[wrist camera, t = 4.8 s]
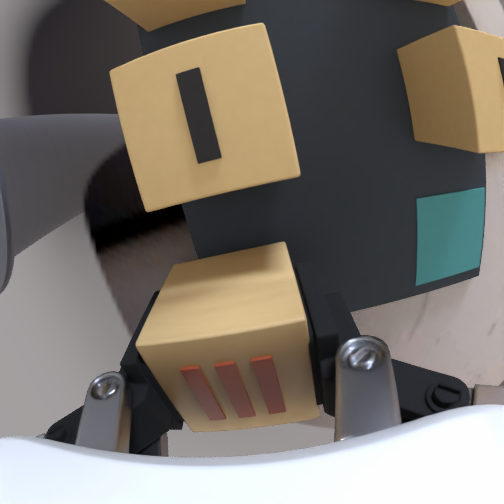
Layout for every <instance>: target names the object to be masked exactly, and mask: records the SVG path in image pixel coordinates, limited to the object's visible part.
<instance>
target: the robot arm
mask: <svg viewBox="0 0 504 504" xmlns="http://www.w3.org/2000/svg"><path fill="white" fill-rule="evenodd" d="M295 267H296V268H293V270H294V274H295V277H296V281H297V285H298V288H299V292H300V296H301V299H302V303H303V307H304V311H305V314H306V318H307V324H308V331H309V338H310V340H309V344H308V345H309V351H310V358H311V365H312V372H313V379H314V387H315V395H316V402H317V405H321V404H323V406H324V411H325V413H327V414H329V415H331V416H333V417H335V433H334V442H333V443H329V444H323V445H318V446H314V447H308V448H302V449H296V450H289V451H282V452H275V453H266V454H256V455H245V456H230V457H193V458H192V457H168V437H167V433H166V432H168V431H169V429H170V430H172V429H173V430H175V429H176V430H177V429H178V430H181V429H182V426H183V421H185V420H184V419H183V418H182V416H181V415H180V414H179V412H178V411H177V409H176V408H175V406H174V405H173V404H172V402H171V401H170V399H169V398H168V396H167V395H166V393H165V392H164V390H163V389H162V387H161V386H160V384H159V383H158V381H157V380H156V378H155V376H154V375H153V373H152V372H151V370H150V369H149V367H148V366H147V365H146V363H145V361H144V360H143V358H142V356H141V355H140V353H139V351H138V350H137V348H136V341H137V339H138V337H139V335H140V333H141V330H142V328H143V326H144V324H145V322H146V320H147V318H148V315H149V313H150V311H151V309H152V307H153V305H154V303H155V301H156V299H157V297H158V295H159V293H160V291H156V292H155V293H154V295H153V297H152V299H151V301H150V302H149V304H148V306H147V308H146V310H145V312H144V314H143V316H142V318H141V320H140V323H139V325H138V327H137V329H136V331H135V333H134V335H133V337H132V339H131V341H130V343H129V345H128V348H127V350H126V352H125V354H124V356H123V358H122V361H121V363H120V365H121V369H120V371H119V372H115V371H111V372H106V373H103V374H102V375H100V376H98V377H97V378H96V379H94V380H93V381H92V383H91V384H90V386H89V388H88V391H87V395H86V398H85V403H84V405H83V406H81V407H80V408H78V409H76V410H75V411H73V412H72V413H70V414H69V415H67V416H65V417H64V418H62V419H61V420H59V421H58V422H56V423H54V424H53V425H52V426H51V427H50V428H49V429H48V431H47V433H46V434H45V433H44V434H42V435H39V436H37V437H30V436H9V437H4V438H0V504H504V386H491V385H477V384H475V386H474V388H467V386H466V384H465V383H464V382H462V381H461V380H460V379H458V378H455V377H453V376H449V375H445V374H442V373H438V372H435V371H431V370H428V369H424V368H421V367H418V366H414V365H411V364H408V363H404V362H401V361H398V360H395V359H391V356H390V351H389V348H388V346H387V344H386V343H385V342H384V341H383V340H381V339H379V338H377V337H374V336H369V335H360V333H359V331H358V328H357V326H356V324H355V322H354V320H353V318H352V315H351V313H350V311H349V309H348V307H347V305H346V303H345V301H344V299H343V297H342V295H341V293H340V291H336V292H332V293H327V294H323V291H322V289H321V286H320V284H319V281H318V279H317V276H316V274H315V271H314V269H313V266H312V264H311V262H310V261H307V262H302V263H297V264H295Z"/></svg>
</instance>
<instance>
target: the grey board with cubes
mask: <svg viewBox="0 0 504 504" xmlns="http://www.w3.org/2000/svg"><path fill="white" fill-rule="evenodd" d="M104 1H106V2H107V3H109V4H110V5H112V6H113V7H115V8H116V9H118V10H119V11H120V12H122V13H123V14H125V15H126V16H127V17H129V18H130V19H132V20H133V21H134V22H136V23H137V25H138V30H139V35H140V40H141V45H142V50H143V55H144V56H143V57H140V58H138V59H135V60H133V61H131V62H128V63H126V64H124V65H122V66H119V67H117V68H115V69H113V70H111V71H110V77H111V82H112V87H113V92H114V96H115V101H116V106H117V110H118V114H119V118H120V123H121V127H122V131H123V135H124V139H125V142H126V146H127V150H128V154H129V157H130V161H131V164H132V168H133V171H134V175H135V178H136V182H137V185H138V188H139V191H140V195H141V198H142V201H143V204H144V207H145V210H146V212H151V211H155V210H159V209H162V208H166V207H170V206H173V205H177V204H182V207H183V211H184V214H185V217H186V220H187V224H188V227H189V230H190V233H191V237H192V240H193V243H194V246H195V249H196V252H197V255H198V258H199V259H203V258H208V257H213V256H217V255H222V254H227V253H232V252H236V251H241V250H246V249H250V248H255V247H260V246H265V245H269V244H274V243H279V242H285V243H286V246H287V249H288V253H289V256H290V260H291V263H292V267H293V268H296V267H295V264H297V263H302V262H307V261H310V262H311V264H312V266H313V269H314V271H315V274H316V276H317V279H318V281H319V284H320V286H321V289H322V291H323V294H327V293H332V292H336V291H340V293H341V295H342V297H343V299H344V301H345V303H346V305H347V307H348V309H349V311H350V312H352V311H357V310H361V309H365V308H369V307H373V306H377V305H381V304H385V303H389V302H393V301H397V300H401V299H404V298H408V297H411V296H415V295H419V294H422V293H426V292H429V291H432V290H436V289H439V288H442V287H445V286H449V285H452V284H455V283H458V282H461V281H464V280H467V279H470V278H473V277H476V276H479V271H480V264H481V256H482V248H483V238H484V226H485V207H486V167H485V153H497V152H504V38H501V37H498V36H495V35H492V34H488V33H485V32H481V31H478V30H474V29H470V28H466V27H461V26H460V24H459V21H458V18H457V16H456V13H455V10H454V8H453V4H455V3H457V2H459V1H461V0H104Z"/></svg>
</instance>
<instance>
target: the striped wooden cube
mask: <svg viewBox="0 0 504 504" xmlns="http://www.w3.org/2000/svg"><path fill="white" fill-rule="evenodd" d="M309 340H310V338H309V331H308V324H307V318H306V314H305V311H304V307H303V303H302V299H301V296H300V292H299V288H298V285H297V281H296V277H295V274H294V270H293V267H292V263H291V260H290V256H289V253H288V249H287V246H286V243H285V242H279V243H274V244H269V245H265V246H260V247H255V248H250V249H246V250H241V251H236V252H232V253H227V254H222V255H217V256H213V257H208V258H203V259H199V260H194V261H189V262H185V263H180V264H175V265H173V267H172V269H171V271H170V273H169V275H168V277H167V279H166V281H165V283H164V285H163V287H162V289H161V291H160V293H159V295H158V297H157V299H156V301H155V303H154V305H153V307H152V309H151V311H150V313H149V315H148V318H147V320H146V322H145V324H144V326H143V328H142V330H141V333H140V335H139V337H138V339H137V341H136V348H137V350H138V351H139V353H140V355H141V356H142V358H143V360H144V361H145V363H146V365H147V366H148V367H149V369H150V370H151V372H152V373H153V375H154V376H155V378H156V380H157V381H158V383H159V384H160V386H161V387H162V389H163V390H164V392H165V393H166V395H167V396H168V398H169V399H170V401H171V402H172V404H173V405H174V406H175V408H176V409H177V411H178V412H179V414H180V415H181V416H182V418H183V419H184V420H185V422H186V424H187V425H188V426H189V428H190V429H191V430H192V431H193V432H212V431H228V430H239V429H249V428H257V427H265V426H273V425H280V424H287V423H293V422H298V421H304V420H309V419H314V418H318V417H319V415H320V414H319V406H318V405H317V402H316V395H315V387H314V379H313V372H312V365H311V358H310V351H309V345H308V344H309Z"/></svg>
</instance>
